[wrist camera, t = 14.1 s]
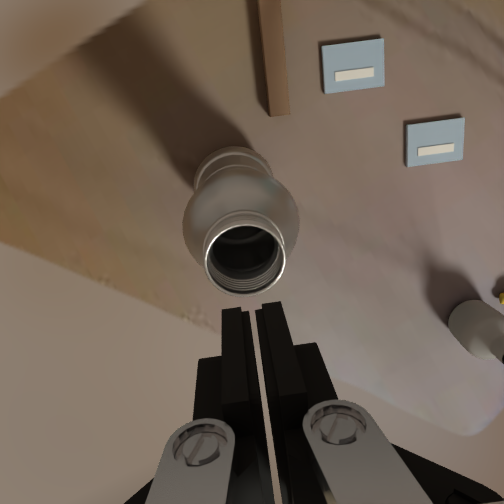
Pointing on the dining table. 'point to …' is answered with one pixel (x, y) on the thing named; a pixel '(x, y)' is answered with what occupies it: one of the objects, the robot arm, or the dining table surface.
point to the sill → (274, 57)
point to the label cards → (372, 75)
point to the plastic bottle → (240, 222)
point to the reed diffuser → (479, 329)
